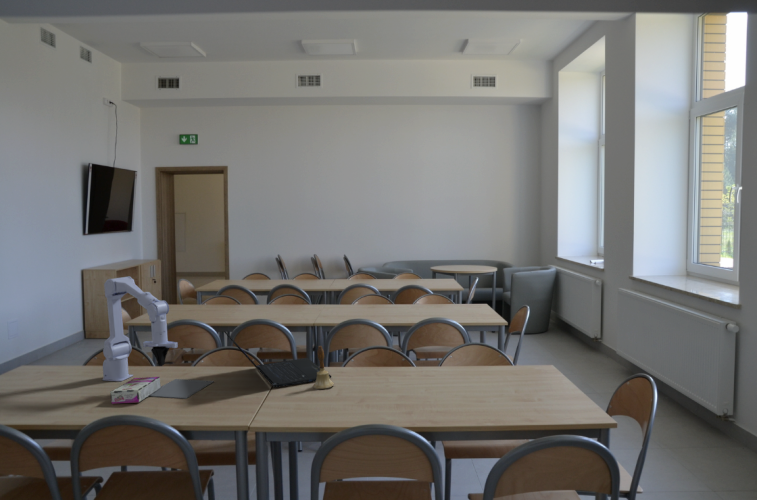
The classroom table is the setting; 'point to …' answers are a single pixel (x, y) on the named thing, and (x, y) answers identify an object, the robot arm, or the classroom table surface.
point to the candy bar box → (135, 390)
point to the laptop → (286, 370)
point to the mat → (180, 388)
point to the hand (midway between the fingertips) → (161, 364)
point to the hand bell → (322, 373)
